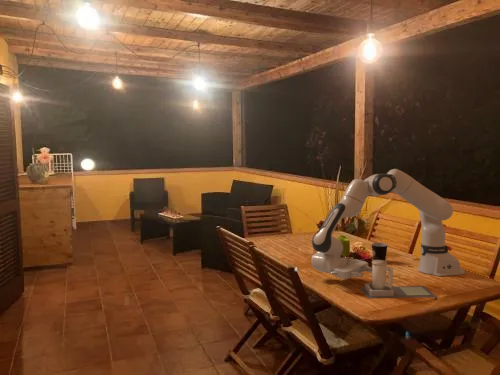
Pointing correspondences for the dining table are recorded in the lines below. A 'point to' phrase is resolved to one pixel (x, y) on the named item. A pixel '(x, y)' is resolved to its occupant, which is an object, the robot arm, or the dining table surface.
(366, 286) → the stand board
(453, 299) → the dining table surface
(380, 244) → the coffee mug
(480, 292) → the dining table surface
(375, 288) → the jug
